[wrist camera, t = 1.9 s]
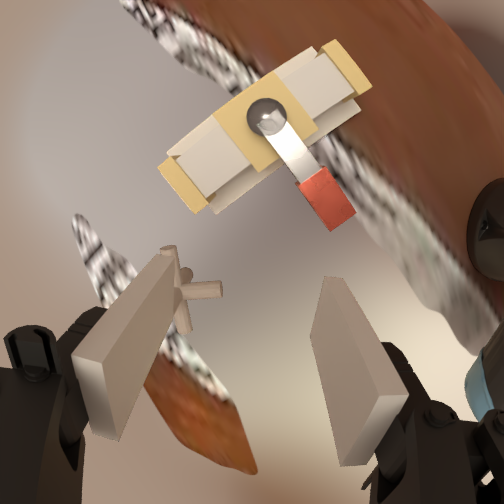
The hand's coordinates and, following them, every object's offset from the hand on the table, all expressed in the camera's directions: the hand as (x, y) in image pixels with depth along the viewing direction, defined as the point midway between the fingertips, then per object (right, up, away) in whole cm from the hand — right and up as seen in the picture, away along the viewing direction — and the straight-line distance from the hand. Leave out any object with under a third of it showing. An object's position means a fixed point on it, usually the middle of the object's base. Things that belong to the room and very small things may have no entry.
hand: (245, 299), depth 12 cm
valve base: (+2, +15, +21) cm, 26 cm away
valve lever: (+4, +9, +13) cm, 16 cm away
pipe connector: (-8, -1, +27) cm, 28 cm away
